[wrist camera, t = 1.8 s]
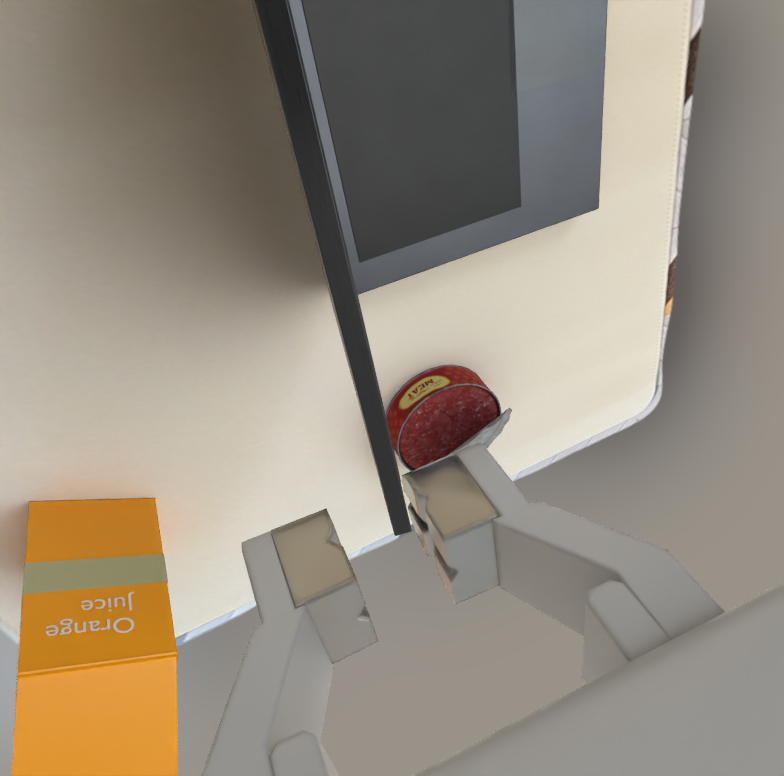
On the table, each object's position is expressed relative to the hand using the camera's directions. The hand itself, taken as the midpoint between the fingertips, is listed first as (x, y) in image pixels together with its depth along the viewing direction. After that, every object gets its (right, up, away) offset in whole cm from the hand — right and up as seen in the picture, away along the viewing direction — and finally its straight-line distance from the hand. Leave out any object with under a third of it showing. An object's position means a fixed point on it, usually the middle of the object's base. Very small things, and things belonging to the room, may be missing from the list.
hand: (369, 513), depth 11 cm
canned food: (+4, 0, +47) cm, 47 cm away
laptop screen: (-3, +13, +17) cm, 22 cm away
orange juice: (-23, -9, +40) cm, 47 cm away
